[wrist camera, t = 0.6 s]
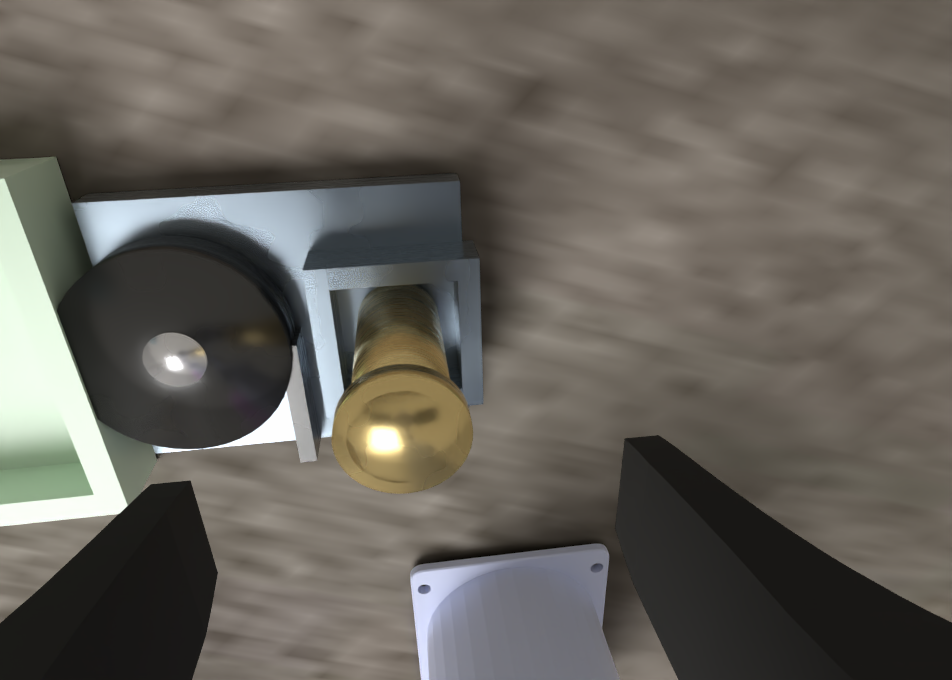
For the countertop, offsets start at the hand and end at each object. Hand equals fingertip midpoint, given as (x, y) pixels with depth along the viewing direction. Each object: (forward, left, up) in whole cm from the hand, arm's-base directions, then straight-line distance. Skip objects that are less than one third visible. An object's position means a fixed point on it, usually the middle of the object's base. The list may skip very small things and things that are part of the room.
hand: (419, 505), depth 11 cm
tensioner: (-1, +3, -10) cm, 10 cm away
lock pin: (-1, 0, -9) cm, 9 cm away
